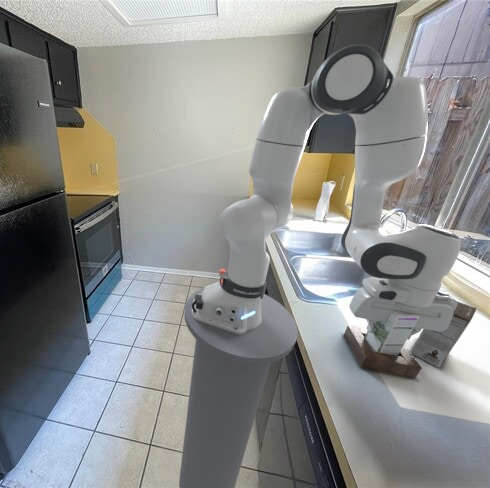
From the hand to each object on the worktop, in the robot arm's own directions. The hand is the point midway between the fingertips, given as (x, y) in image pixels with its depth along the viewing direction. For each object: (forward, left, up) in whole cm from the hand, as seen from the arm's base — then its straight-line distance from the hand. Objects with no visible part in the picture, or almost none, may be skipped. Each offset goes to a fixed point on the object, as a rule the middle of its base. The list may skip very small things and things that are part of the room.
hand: (386, 334), depth 68 cm
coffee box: (+15, +5, -8) cm, 18 cm away
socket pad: (0, 0, -8) cm, 8 cm away
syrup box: (0, 0, -6) cm, 6 cm away
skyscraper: (+20, +130, -8) cm, 132 cm away
